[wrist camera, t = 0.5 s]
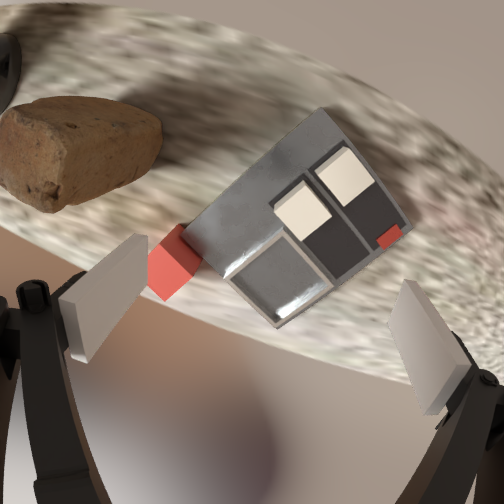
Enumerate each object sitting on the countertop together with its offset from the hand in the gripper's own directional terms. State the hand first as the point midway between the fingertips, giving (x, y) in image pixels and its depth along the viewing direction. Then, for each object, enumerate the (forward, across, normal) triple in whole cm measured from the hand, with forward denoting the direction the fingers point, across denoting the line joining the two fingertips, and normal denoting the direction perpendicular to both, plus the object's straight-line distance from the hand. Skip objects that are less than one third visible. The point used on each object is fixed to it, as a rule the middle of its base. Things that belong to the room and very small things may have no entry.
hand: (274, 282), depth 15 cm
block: (+22, -19, +5) cm, 30 cm away
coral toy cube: (+22, -11, -10) cm, 27 cm away
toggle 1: (+19, +2, -1) cm, 19 cm away
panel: (+22, +3, -3) cm, 23 cm away
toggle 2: (+19, +6, +4) cm, 20 cm away
